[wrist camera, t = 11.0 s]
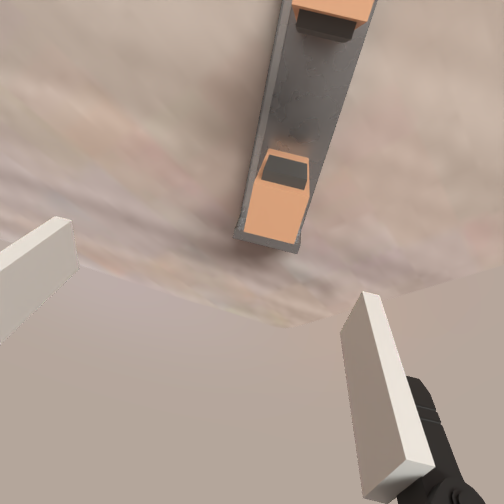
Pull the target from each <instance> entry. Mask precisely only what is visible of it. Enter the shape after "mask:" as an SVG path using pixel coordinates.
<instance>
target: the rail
mask: <svg viewBox="0 0 504 504" xmlns="http://www.w3.org/2000/svg"><path fill="white" fill-rule="evenodd" d="M377 1H378V0H374V3H373V6H372V9H371V12H370V15H369V18H368V21H367V22H366V23H364V24H363V25H361V26H360V27H358V28H357V29H355V30H354V33H353V36H352V39H351V40H350V41H348V42H345V43H341V42H337V41H333V40H329V39H324V38H320V37H316V36H312V35H307V34H303V33H299V32H297V29H296V18H295V15H294V11H293V7H292V0H282V4H281V9H280V14H279V20H278V25H277V30H276V35H275V40H274V45H273V50H272V55H271V60H270V66H269V71H268V76H267V81H266V86H265V91H264V96H263V101H262V106H261V112H260V117H259V122H258V127H257V132H256V137H255V142H254V147H253V152H252V158H251V163H250V168H249V173H248V178H247V183H246V188H245V193H244V198H243V204H242V209H241V214H240V217H239V220H238V222H237V224H236V227H235V230H234V235H233V238H235V239H239V240H243V241H247V242H251V243H255V244H259V245H263V246H267V247H271V248H275V249H279V250H283V251H286V252H290V253H294V254H297V253H298V250H299V248H300V243H301V229H302V226H303V223H304V220H305V217H306V214H307V211H308V208H309V205H310V202H311V199H312V196H313V193H314V190H315V187H316V184H317V181H318V178H319V175H320V172H321V169H322V166H323V163H324V160H325V157H326V154H327V151H328V148H329V145H330V142H331V139H332V136H333V133H334V130H335V127H336V124H337V121H338V118H339V115H340V112H341V109H342V106H343V103H344V100H345V97H346V94H347V91H348V88H349V85H350V82H351V79H352V76H353V73H354V70H355V67H356V64H357V61H358V58H359V55H360V52H361V49H362V46H363V43H364V40H365V37H366V34H367V31H368V28H369V25H370V22H371V19H372V16H373V13H374V10H375V7H376V4H377ZM269 148H270V149H274V150H278V151H282V152H286V153H290V154H294V155H298V156H302V157H307V158H309V193H310V197H309V200H308V203H307V206H306V209H305V212H304V215H303V218H302V221H301V225H300V228H299V231H298V234H297V237H296V240H295V243H294V244H291V243H287V242H283V241H279V240H275V239H271V238H267V237H263V236H259V235H255V234H251V233H247V232H244V227H245V222H246V218H247V213H248V208H249V203H250V199H251V194H252V189H253V184H254V181H255V179H256V177H257V174H258V172H259V170H260V167H261V165H262V163H263V160H264V158H265V156H266V154H267V151H268V149H269Z"/></svg>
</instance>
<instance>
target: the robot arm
mask: <svg viewBox="0 0 504 504" xmlns="http://www.w3.org/2000/svg"><path fill="white" fill-rule="evenodd" d="M78 270H79V262H78V256H77V250H76V243H75V237H74V231H73V224H72V220H68V219H64V218H60V217H56V216H55V217H53V218H51V219H50V220H48V221H47V222H45V223H44V224H42V225H41V226H39V227H38V228H36V229H35V230H33V231H31V232H30V233H28V234H27V235H25V236H24V237H22V238H21V239H19V240H18V241H16V242H14V243H13V244H11V245H10V246H9V247H7V248H5V249H4V250H2V251H1V252H0V345H1V344H2V343H3V342H4V341H5V340H6V339H7V338H8V337H9V336H10V335H11V334H12V333H13V332H14V331H15V330H17V329H18V328H19V327H20V326H21V325H22V323H24V322H25V321H26V320H27V319H28V318H29V317H30V316H31V315H32V314H33V313H34V312H35V311H36V310H37V309H38V308H39V307H40V306H42V304H44V303H45V302H46V301H47V300H48V299H49V298H50V297H51V296H52V295H53V294H54V293H55V292H56V291H57V290H58V289H59V288H60V287H61V286H62V285H63V284H64V283H66V282H67V280H69V279H70V278H71V277H72V276H73V275H74V274H75V273H76V272H77V271H78ZM340 337H341V344H342V351H343V358H344V366H345V373H346V379H347V387H348V393H349V401H350V408H351V415H352V423H353V430H354V437H355V443H356V451H357V458H358V465H359V472H360V479H361V487H362V494H363V498H365V499H369V500H374V501H377V502H381V503H385V504H388V503H390V502H391V501H392V500H393V499H395V498H396V497H397V501H398V504H485V502H484V500H483V499H482V498H481V497H480V496H479V494H478V493H477V492H476V491H475V490H474V489H473V488H472V487H471V486H469V485H468V484H466V483H465V482H464V480H463V478H462V476H461V473H460V471H459V468H458V465H457V463H456V460H455V458H454V455H453V452H452V450H451V447H450V444H449V442H448V440H447V437H446V434H445V431H444V429H443V426H442V425H441V421H440V418H439V416H438V413H437V412H436V408H435V405H434V403H433V400H432V397H431V395H430V393H429V392H428V390H427V389H426V387H425V386H424V385H423V383H422V382H421V381H420V380H419V379H417V378H413V377H409V376H406V375H405V372H404V369H403V366H402V364H401V360H400V357H399V354H398V351H397V348H396V345H395V342H394V339H393V336H392V332H391V329H390V326H389V323H388V320H387V317H386V314H385V311H384V308H383V305H382V302H381V299H380V296H379V295H376V294H372V293H368V292H364V291H362V293H361V294H360V296H359V298H358V300H357V302H356V304H355V306H354V307H353V309H352V311H351V313H350V315H349V317H348V319H347V320H346V322H345V324H344V326H343V328H342V330H341V332H340Z"/></svg>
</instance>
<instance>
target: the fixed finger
mask: <svg viewBox="0 0 504 504" xmlns="http://www.w3.org/2000/svg"><path fill="white" fill-rule="evenodd" d="M373 3H374V0H292V7H293V11H294V15H295V18H296V29H297V32H299V33H303V34H307V35H312V36H316V37H320V38H324V39H329V40H333V41H337V42H341V43H345V42H348V41H350V40H351V39H352V36H353V33H354V30H355V29H357V28H358V27H360V26H361V25H363V24H364V23H366V22H367V21H368V18H369V15H370V12H371V9H372V6H373Z"/></svg>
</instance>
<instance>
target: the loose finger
mask: <svg viewBox="0 0 504 504" xmlns="http://www.w3.org/2000/svg"><path fill="white" fill-rule="evenodd" d="M309 197H310V193H309V158H307V157H302V156H298V155H294V154H290V153H286V152H282V151H278V150H274V149H270V148H269V149H268V151H267V154H266V156H265V158H264V160H263V163H262V165H261V167H260V170H259V172H258V174H257V177H256V179H255V181H254V184H253V189H252V194H251V199H250V203H249V208H248V213H247V218H246V222H245V227H244V232H247V233H251V234H255V235H259V236H263V237H267V238H271V239H275V240H279V241H283V242H287V243H291V244H294V243H295V240H296V237H297V234H298V231H299V228H300V225H301V221H302V218H303V215H304V212H305V209H306V206H307V203H308V200H309Z"/></svg>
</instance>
